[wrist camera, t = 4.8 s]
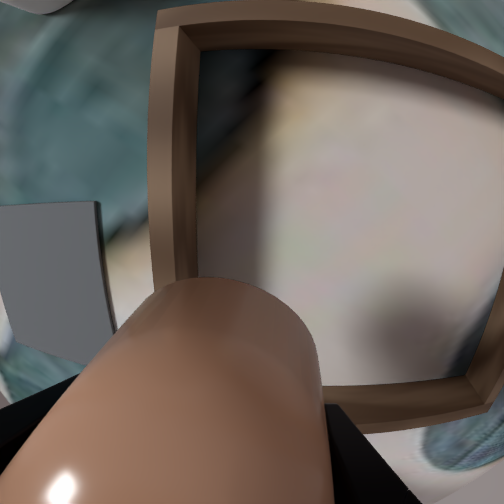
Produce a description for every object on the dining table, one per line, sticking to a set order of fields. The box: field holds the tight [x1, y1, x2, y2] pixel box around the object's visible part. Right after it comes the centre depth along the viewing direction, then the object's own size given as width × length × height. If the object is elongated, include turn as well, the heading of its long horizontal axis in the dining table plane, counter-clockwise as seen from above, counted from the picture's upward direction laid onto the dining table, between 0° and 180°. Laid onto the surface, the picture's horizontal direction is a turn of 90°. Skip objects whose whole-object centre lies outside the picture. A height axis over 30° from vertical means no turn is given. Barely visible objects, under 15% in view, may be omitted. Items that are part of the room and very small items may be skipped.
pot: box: [0, 277, 335, 504], centre depth 5 cm, size 6×6×7 cm
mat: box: [0, 201, 115, 366], centre depth 20 cm, size 14×14×1 cm
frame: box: [147, 0, 504, 434], centre depth 15 cm, size 24×24×4 cm
